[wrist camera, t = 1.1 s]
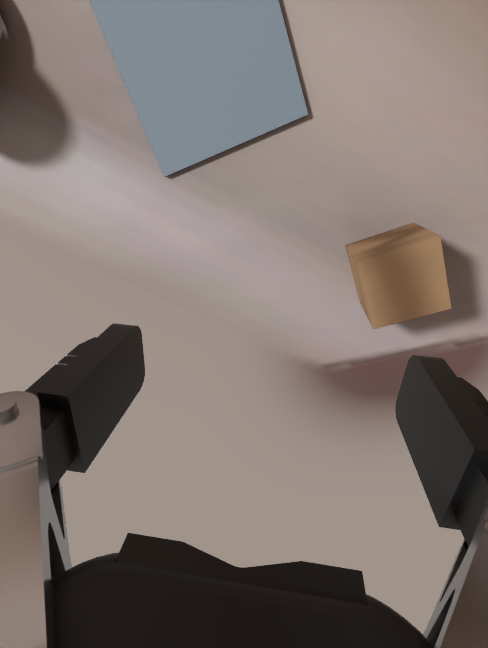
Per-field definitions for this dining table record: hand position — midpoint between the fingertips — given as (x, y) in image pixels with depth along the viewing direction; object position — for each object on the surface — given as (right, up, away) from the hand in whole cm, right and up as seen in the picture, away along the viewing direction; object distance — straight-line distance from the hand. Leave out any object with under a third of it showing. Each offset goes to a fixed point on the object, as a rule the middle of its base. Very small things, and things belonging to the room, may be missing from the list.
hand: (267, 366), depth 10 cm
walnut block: (+11, +6, +19) cm, 23 cm away
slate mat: (-4, +20, +14) cm, 25 cm away
